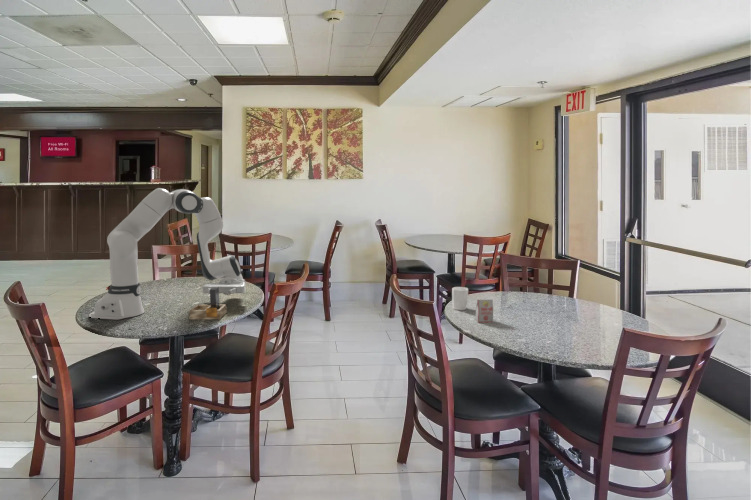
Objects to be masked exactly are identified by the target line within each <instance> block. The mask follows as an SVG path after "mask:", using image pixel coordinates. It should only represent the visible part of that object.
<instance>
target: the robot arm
mask: <svg viewBox="0 0 751 500" xmlns="http://www.w3.org/2000/svg"><path fill="white" fill-rule="evenodd" d="M171 209H173V210H175V211H177V212H179V213H182V214H189V215H190V214H193V215H195V217H196V220H197V223H198V227H199V230H198V232H197V233H196V243H197V249H198V253H199V258H200V264H201V273H202V275H203V278H205V279H207V281H215V280H217V279H220V278H222V279H220V280H219V282H216V283H215V282H210V283H206V284H204V285H202V287H201V289H202V291H201V292H202V293H203V294H208V295H210V289H211V288H213V287H219V294H223V295H225V296H230V295H232V294H233V295H234V294H245V293H246V292H247V291H246V287H247V286H246V279H244V278H243V277H244V276H243V275H242V273H241V272H242V266H241V263H240V261H239V259H238V258H236V257H235V256H233V255H229V256H228V255H227V256H223V257H220V258H217V259H211V257H210V250H209V246H208V245H209V242H211V240H213V239H214V238H216V237H217V236H218V235H220V234H221V232H222V231H223V228H224V222H223V218H222V215H221V213H220V211H219V209H218V207H217V205H216V203H215V201H214V200H213V198H211V197H208V196H206V197H205V196H204V197H200V196H199V195H197V193H195V192H193V191H191V190H189V189H185V188H177V189H173V190H170V191H169V190H167V189H165V188H161V187H157V188H155V189H154V190H152V191H151V192H150V193H148V194H147V196H145V197H144V198H143V199H142V200H141V201H140V202H139V203H138V204H137V206H136V207H135V208H134V209H133V210H132V211H131V212H130V213H128V215H127V216H126V217H125V218H124V219H122V221H121V222H119V223H118V225H117V226H115V227H114V228H113V230H112V231H110V233H108V235H107V240H106V242H107V245H108V248H109V250H108V251H109V269H110V270H109V271H110V272H109V273H110V281H111V283H110V285H108V286H107V287H105V291H107V293H106V294H104V295H103V296H102V297H101V298H100V299H98V300H97V301H96V302H95V305H94V308H93V309H94V310H93V311H92V312H90V313H89V314H88V318H89V317H91V318H90V319H98V318H100V319H101V320H115V321H116V320H122V319H126V318H132V317H136V316H139V315H142V314H144V313H145V309H144V307H143V303H142V297H141V283H140V282H139V268H138V262H139V259H138V258H139V256H138V254H139V252H138V242H139V241H140V240H141V239H142V238H143V237H144V236H145V235H146V234H147V233H149V232H150V231H151V230H152V229H153V228H154V226H155V225H157V223H158V222H159V221H161V219H162V218H163V216H165V214H166V213H167V212H169V211H170V210H171Z"/></svg>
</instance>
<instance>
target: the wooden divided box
mask: <svg viewBox="0 0 751 500" xmlns="http://www.w3.org/2000/svg"><path fill="white" fill-rule="evenodd" d="M219 306H220V309H219V310H217V308H211V306H210V304H196V305H195V306H193V307H191V309H189V317H188V320H221V319H222V318H223V317H224V316H225V315H226V314H227V313H228V309H227V304H219Z"/></svg>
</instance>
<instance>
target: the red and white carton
mask: <svg viewBox="0 0 751 500" xmlns="http://www.w3.org/2000/svg"><path fill="white" fill-rule="evenodd" d="M475 321H476V322H477V323H479V324H480V323H482V324H483V323H493V322H494V302H493V299H477V301H476V307H475Z"/></svg>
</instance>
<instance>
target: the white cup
mask: <svg viewBox="0 0 751 500" xmlns="http://www.w3.org/2000/svg"><path fill="white" fill-rule="evenodd" d="M468 296H469V288H468V287H464V286H454V287H452V288H451V301H452V309H453V310H455V311H465V310H467V306H468V299H469V297H468Z"/></svg>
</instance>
